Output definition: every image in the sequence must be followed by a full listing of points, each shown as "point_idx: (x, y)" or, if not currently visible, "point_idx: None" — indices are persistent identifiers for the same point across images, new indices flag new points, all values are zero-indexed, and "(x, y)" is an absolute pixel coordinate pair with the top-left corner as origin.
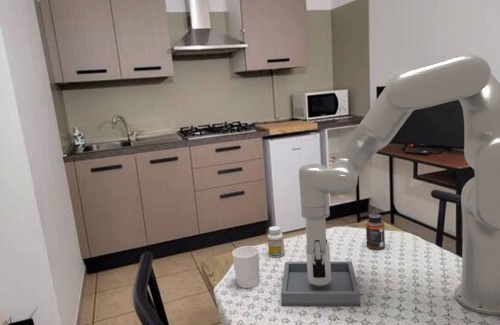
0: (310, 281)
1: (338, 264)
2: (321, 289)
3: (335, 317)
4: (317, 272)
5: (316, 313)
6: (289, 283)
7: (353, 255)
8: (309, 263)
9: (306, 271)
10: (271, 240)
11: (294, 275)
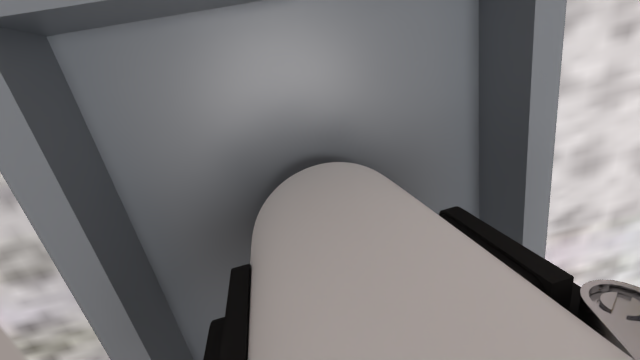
0: (269, 199)
1: None
2: None
3: (51, 348)
4: (211, 352)
5: (38, 257)
6: (308, 3)
7: (632, 283)
8: (277, 311)
9: (480, 100)
10: None
11: (428, 20)
